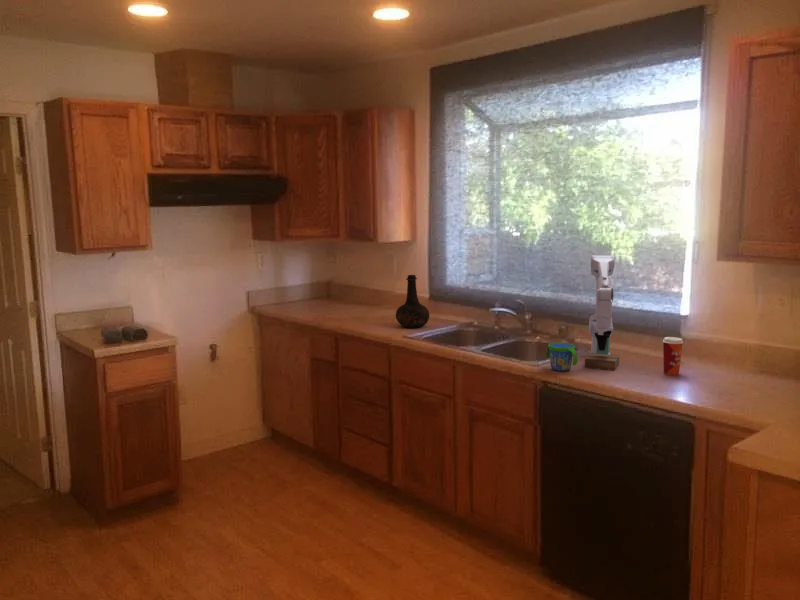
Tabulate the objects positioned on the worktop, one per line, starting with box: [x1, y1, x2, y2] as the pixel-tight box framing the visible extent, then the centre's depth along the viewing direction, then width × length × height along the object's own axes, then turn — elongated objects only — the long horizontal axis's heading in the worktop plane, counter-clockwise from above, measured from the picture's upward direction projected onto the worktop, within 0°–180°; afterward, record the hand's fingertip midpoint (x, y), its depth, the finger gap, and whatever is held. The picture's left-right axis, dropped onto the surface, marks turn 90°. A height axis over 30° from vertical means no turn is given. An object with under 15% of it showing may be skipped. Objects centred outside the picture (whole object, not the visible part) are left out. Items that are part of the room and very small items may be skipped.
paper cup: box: [662, 336, 684, 376], centre depth 279 cm, size 8×8×14 cm
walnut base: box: [584, 352, 620, 371], centre depth 293 cm, size 12×12×4 cm
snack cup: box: [545, 342, 578, 372], centre depth 285 cm, size 16×10×10 cm
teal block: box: [597, 337, 611, 354], centre depth 292 cm, size 4×4×6 cm
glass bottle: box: [395, 274, 430, 329], centre depth 378 cm, size 18×18×28 cm
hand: (602, 349), depth 292 cm, fingers closed on teal block, 4 cm apart
